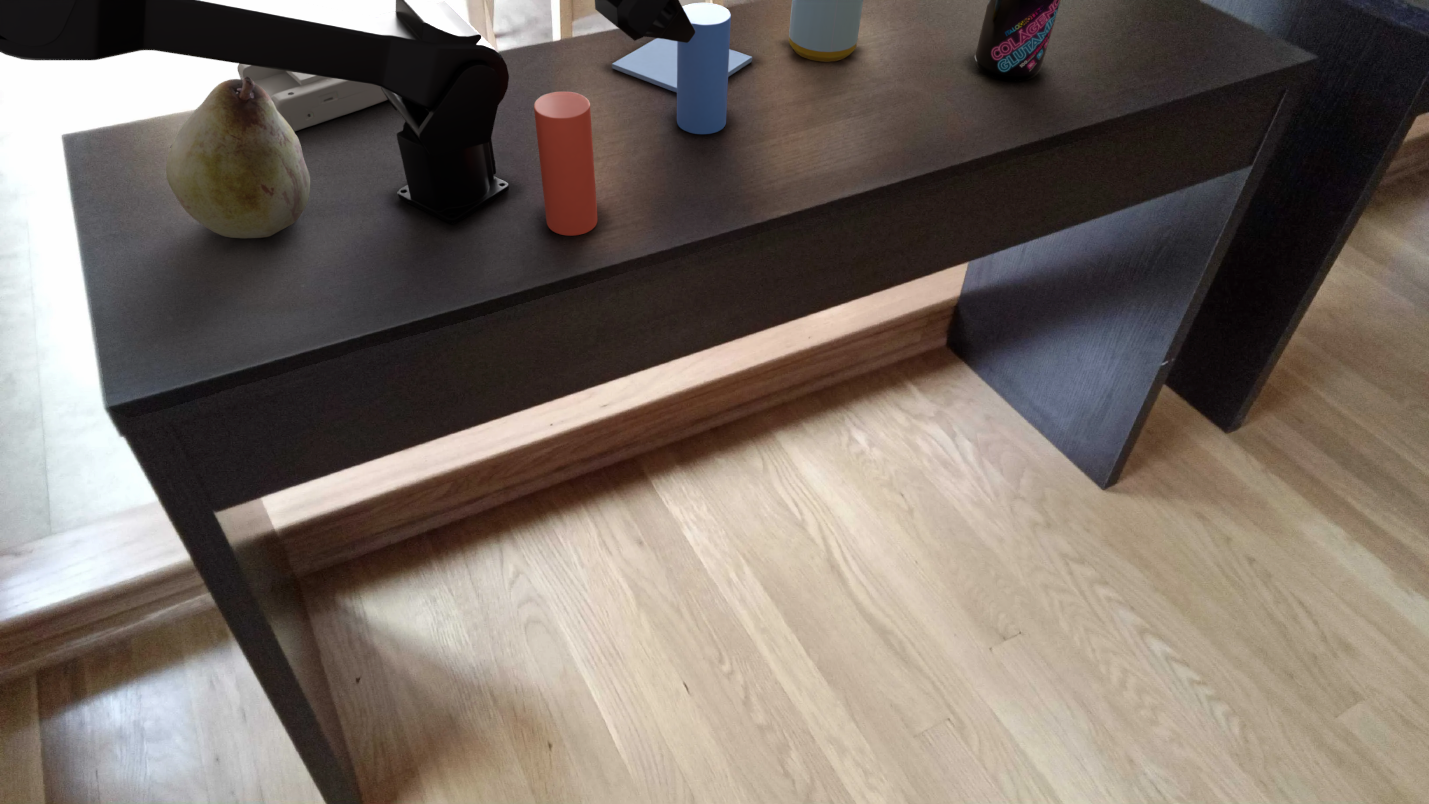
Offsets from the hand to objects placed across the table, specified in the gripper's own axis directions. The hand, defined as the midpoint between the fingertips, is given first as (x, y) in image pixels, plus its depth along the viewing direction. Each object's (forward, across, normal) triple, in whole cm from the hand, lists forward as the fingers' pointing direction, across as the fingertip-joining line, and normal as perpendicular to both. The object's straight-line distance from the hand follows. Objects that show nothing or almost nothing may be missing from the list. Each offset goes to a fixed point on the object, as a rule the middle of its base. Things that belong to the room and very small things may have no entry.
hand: (661, 15), depth 77 cm
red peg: (-2, -8, +17) cm, 19 cm away
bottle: (+24, +6, -9) cm, 26 cm away
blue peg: (+10, 0, +5) cm, 11 cm away
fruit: (-16, +4, +32) cm, 36 cm away
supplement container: (+34, -6, -18) cm, 39 cm away
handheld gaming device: (-5, +22, +16) cm, 28 cm away
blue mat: (+14, +10, +2) cm, 17 cm away
